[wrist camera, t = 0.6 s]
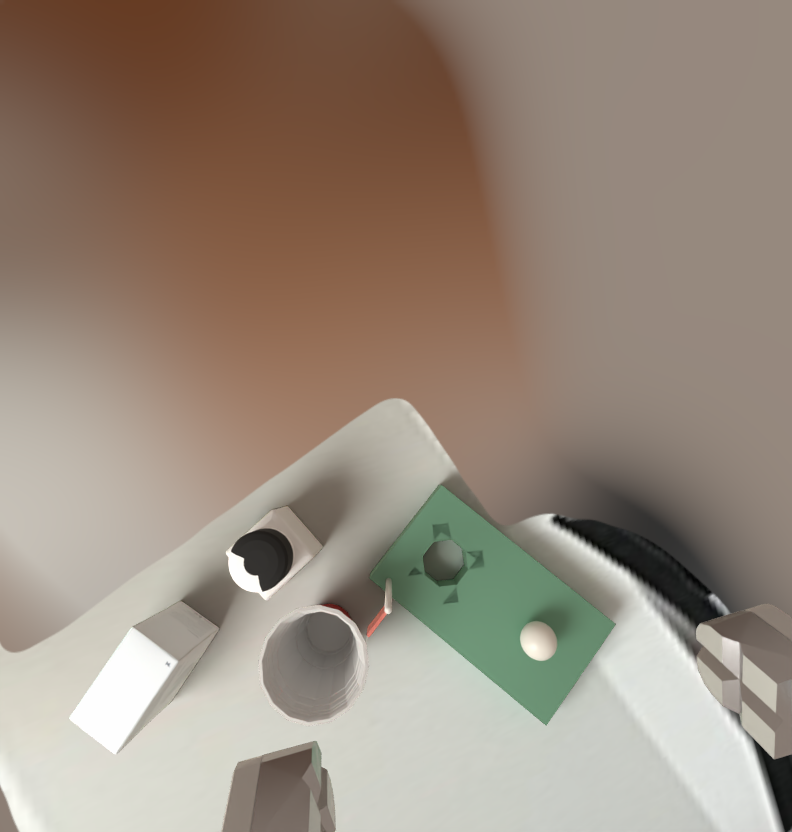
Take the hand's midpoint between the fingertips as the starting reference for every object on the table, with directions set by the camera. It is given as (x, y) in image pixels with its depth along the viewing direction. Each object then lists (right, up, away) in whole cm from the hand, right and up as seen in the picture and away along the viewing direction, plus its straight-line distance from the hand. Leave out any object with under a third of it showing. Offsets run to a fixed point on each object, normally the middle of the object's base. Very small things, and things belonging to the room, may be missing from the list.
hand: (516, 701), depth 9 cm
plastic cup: (-11, -20, +47) cm, 52 cm away
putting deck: (+9, -17, +47) cm, 51 cm away
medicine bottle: (-17, -11, +48) cm, 52 cm away
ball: (+14, -20, +42) cm, 48 cm away
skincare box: (-30, -23, +46) cm, 59 cm away
